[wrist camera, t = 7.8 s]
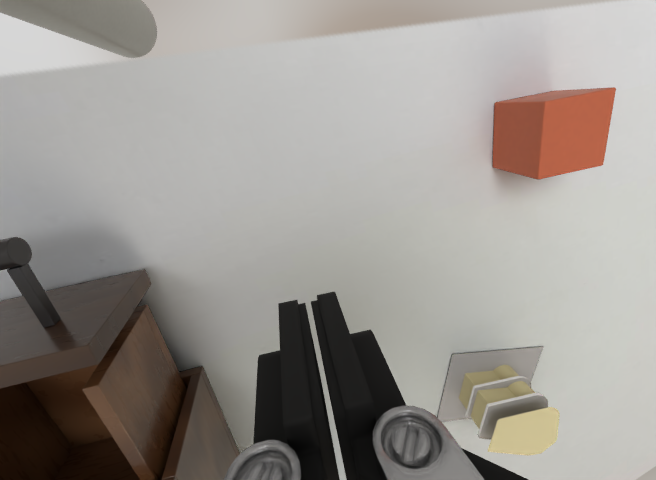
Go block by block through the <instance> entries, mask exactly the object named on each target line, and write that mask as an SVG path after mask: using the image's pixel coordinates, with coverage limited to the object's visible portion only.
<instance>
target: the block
mask: <svg viewBox="0 0 656 480" xmlns="http://www.w3.org/2000/svg"><path fill="white" fill-rule="evenodd" d="M615 91H616V88H597V89H580V90H562V91H551V92H546V93H541V94H536V95H531V96H526V97H520V98H515V99H510V100H505V101H500V102H496V103H495V108H494V139H493V168H497V169H501V170H505V171H508V172H512V173H516V174H520V175H523V176H527V177H531V178H535V179H542V178H547V177H551V176H556V175H560V174H565V173H570V172H574V171H579V170H583V169H588V168H592V167H597V166H601V165H603V162H604V156H605V150H606V144H607V138H608V132H609V126H610V120H611V114H612V109H613V103H614V97H615Z"/></svg>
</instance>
